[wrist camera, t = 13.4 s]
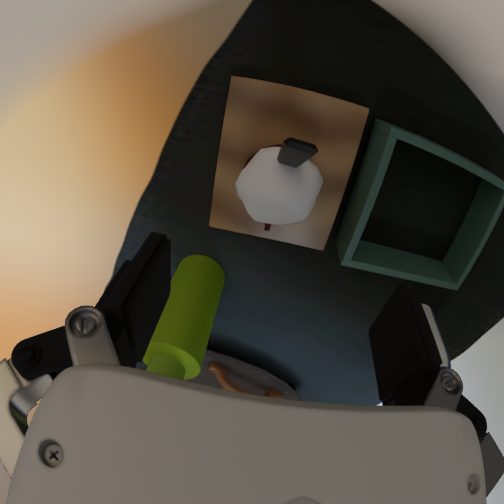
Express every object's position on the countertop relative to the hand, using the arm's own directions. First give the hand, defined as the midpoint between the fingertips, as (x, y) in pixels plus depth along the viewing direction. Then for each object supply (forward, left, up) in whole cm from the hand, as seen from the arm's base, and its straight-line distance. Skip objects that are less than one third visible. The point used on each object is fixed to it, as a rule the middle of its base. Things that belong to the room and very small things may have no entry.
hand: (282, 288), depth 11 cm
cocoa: (0, 0, -17) cm, 17 cm away
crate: (+1, +15, -18) cm, 23 cm away
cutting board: (+1, 0, -18) cm, 18 cm away
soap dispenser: (+16, -7, -18) cm, 25 cm away
